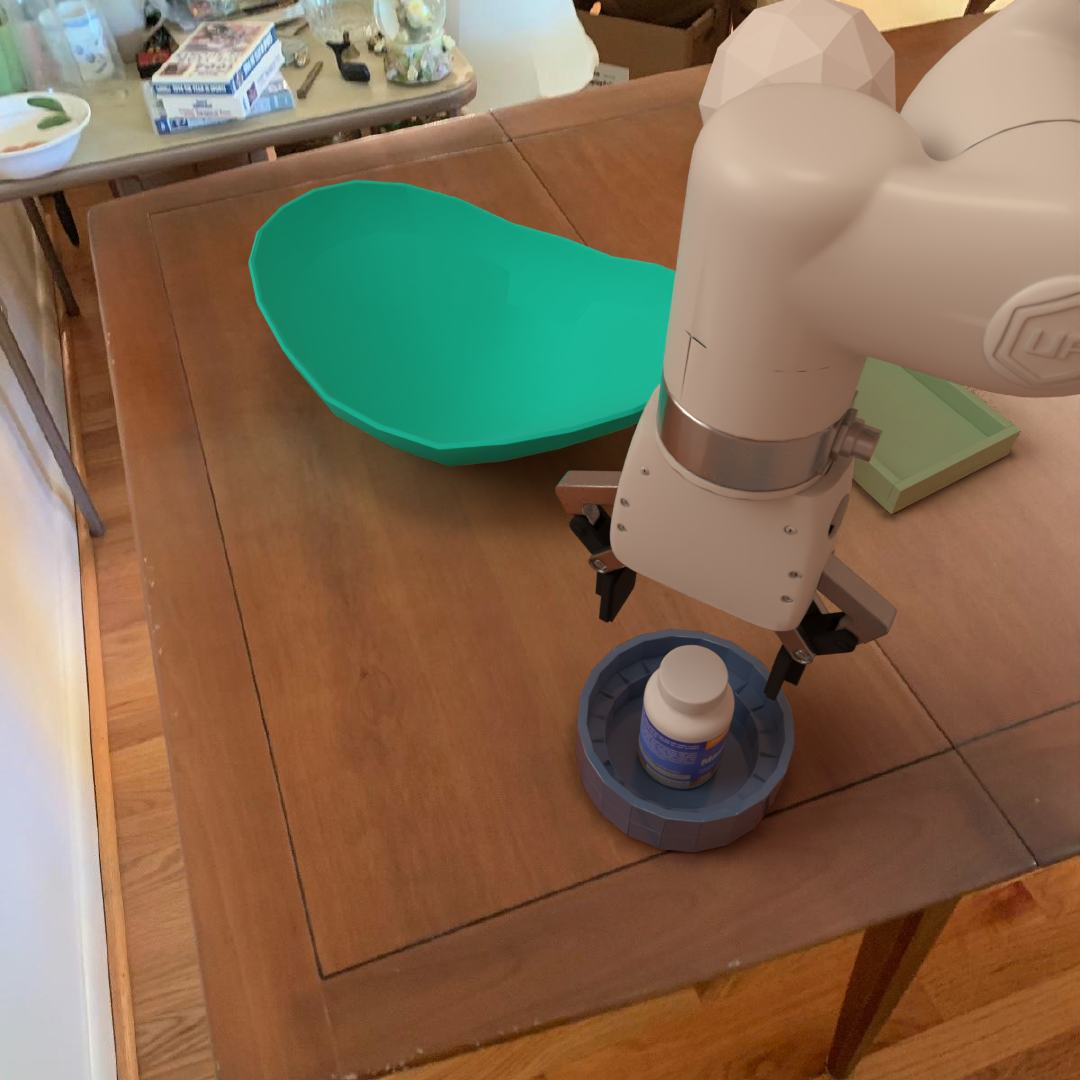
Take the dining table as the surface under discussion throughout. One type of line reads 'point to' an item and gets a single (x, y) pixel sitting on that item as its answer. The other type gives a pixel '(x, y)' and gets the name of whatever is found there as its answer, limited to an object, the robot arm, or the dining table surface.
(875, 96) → the ball
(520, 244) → the table top decor
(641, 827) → the bowl
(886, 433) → the tray
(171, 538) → the dining table surface
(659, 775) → the pill bottle
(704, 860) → the dining table surface
